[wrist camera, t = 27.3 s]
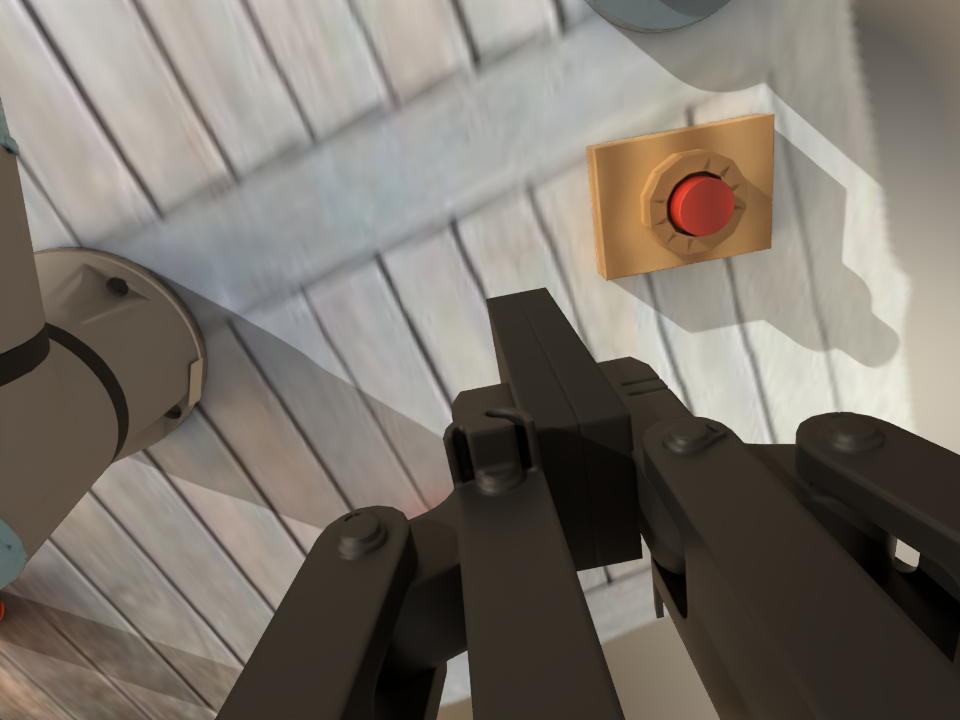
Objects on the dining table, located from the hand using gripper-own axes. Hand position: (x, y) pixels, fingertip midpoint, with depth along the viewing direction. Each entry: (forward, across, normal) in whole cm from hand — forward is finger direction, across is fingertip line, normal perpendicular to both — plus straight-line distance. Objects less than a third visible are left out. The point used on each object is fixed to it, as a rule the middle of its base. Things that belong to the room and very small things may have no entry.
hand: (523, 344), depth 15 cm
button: (+25, +15, -3) cm, 29 cm away
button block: (+28, +15, -3) cm, 32 cm away
